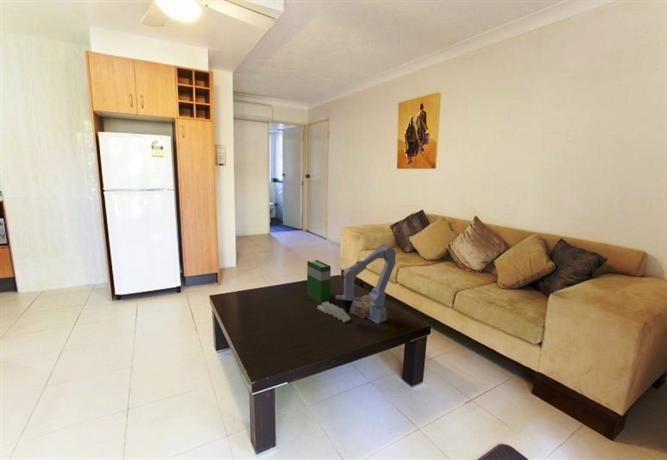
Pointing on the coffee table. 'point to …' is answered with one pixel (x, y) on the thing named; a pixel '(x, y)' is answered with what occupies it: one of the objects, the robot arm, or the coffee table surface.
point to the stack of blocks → (361, 307)
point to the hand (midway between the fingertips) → (348, 312)
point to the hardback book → (318, 281)
